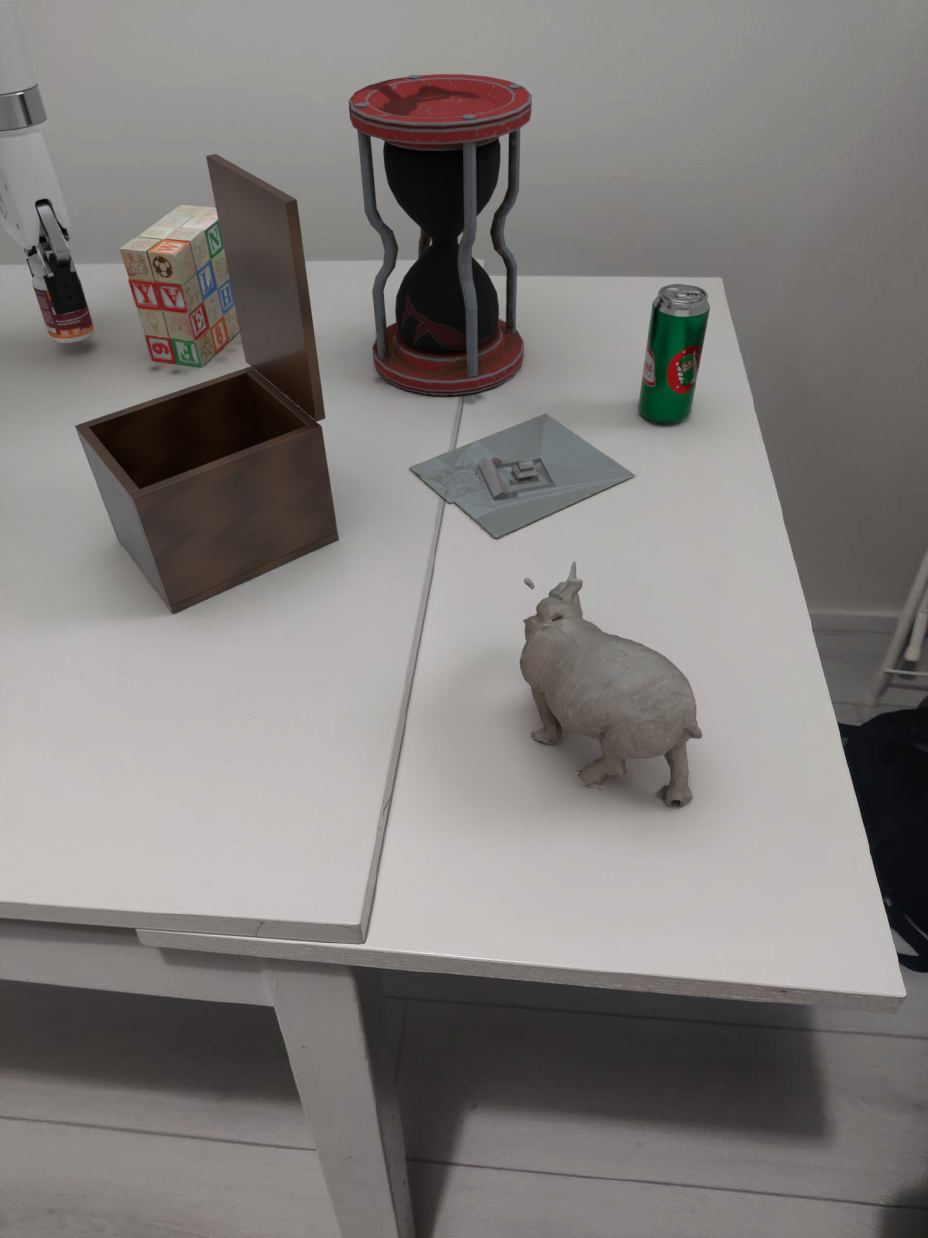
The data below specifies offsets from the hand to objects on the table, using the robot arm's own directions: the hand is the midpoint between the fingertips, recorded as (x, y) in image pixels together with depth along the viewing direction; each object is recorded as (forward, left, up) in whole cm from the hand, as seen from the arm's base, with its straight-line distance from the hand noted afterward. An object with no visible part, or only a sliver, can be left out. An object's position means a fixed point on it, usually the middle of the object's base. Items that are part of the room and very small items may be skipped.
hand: (62, 300), depth 93 cm
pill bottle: (0, 0, -4) cm, 4 cm away
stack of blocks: (+16, -4, -6) cm, 17 cm away
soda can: (+41, -50, -6) cm, 65 cm away
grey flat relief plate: (+19, -51, -6) cm, 54 cm away
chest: (-2, -41, -5) cm, 42 cm away
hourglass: (+31, -28, -6) cm, 42 cm away
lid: (+5, -41, +13) cm, 44 cm away
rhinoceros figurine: (+9, -74, -6) cm, 74 cm away
